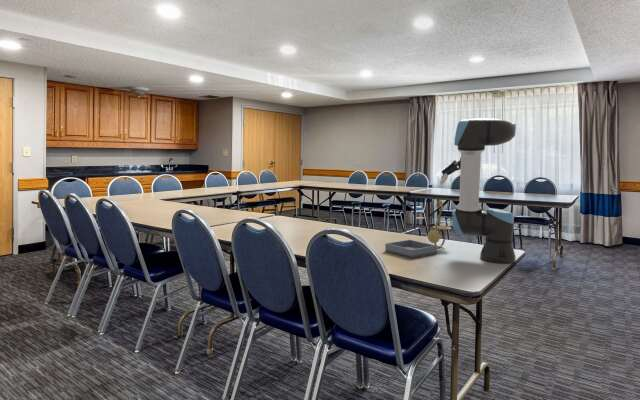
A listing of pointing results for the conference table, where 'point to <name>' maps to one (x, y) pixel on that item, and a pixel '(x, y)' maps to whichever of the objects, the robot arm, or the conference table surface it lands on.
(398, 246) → the tray
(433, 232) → the wall sconce
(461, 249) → the conference table surface
